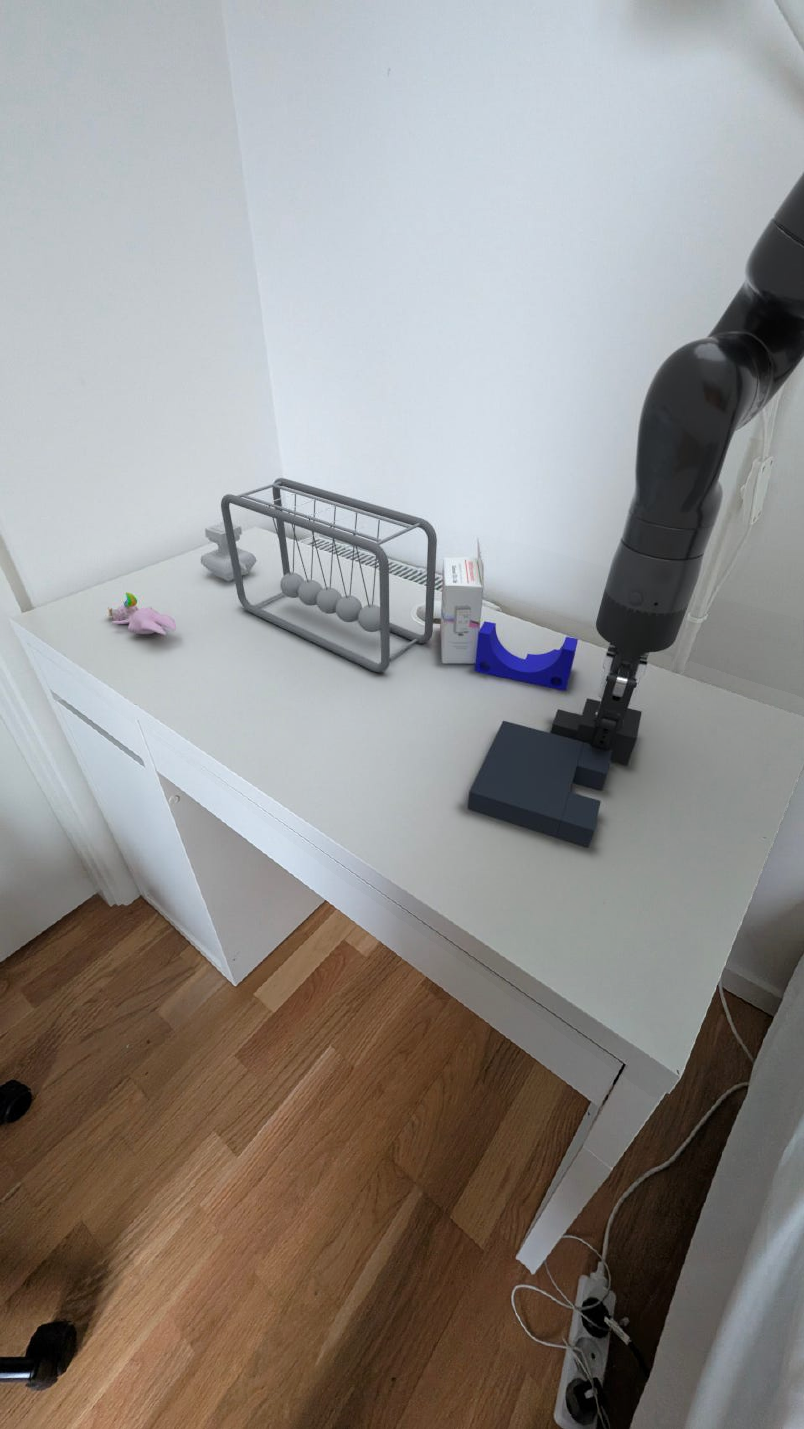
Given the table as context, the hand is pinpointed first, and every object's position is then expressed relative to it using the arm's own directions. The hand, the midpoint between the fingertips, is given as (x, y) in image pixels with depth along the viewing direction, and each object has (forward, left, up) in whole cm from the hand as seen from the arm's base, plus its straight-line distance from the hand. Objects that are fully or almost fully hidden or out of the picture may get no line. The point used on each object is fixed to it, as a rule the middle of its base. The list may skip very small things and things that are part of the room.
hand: (605, 723), depth 64 cm
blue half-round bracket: (+12, -10, -3) cm, 16 cm away
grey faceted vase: (+65, -18, -3) cm, 67 cm away
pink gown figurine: (+65, +2, -3) cm, 65 cm away
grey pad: (+5, +10, -3) cm, 11 cm away
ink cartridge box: (+22, -12, -3) cm, 25 cm away
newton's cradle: (+41, -10, -3) cm, 42 cm away
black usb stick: (+1, 0, -3) cm, 3 cm away
